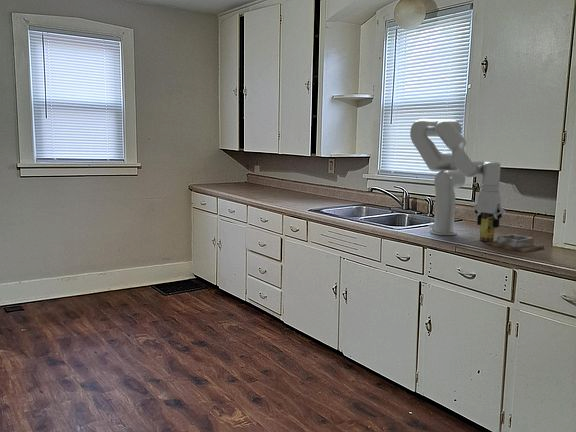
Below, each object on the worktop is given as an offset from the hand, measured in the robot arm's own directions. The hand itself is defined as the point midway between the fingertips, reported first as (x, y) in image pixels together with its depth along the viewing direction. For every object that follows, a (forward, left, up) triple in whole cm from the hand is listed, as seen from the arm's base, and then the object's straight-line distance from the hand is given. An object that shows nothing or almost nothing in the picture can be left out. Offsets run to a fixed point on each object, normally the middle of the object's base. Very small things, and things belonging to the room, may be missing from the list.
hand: (487, 225), depth 252 cm
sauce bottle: (0, 0, -7) cm, 7 cm away
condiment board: (+15, -1, -7) cm, 17 cm away
